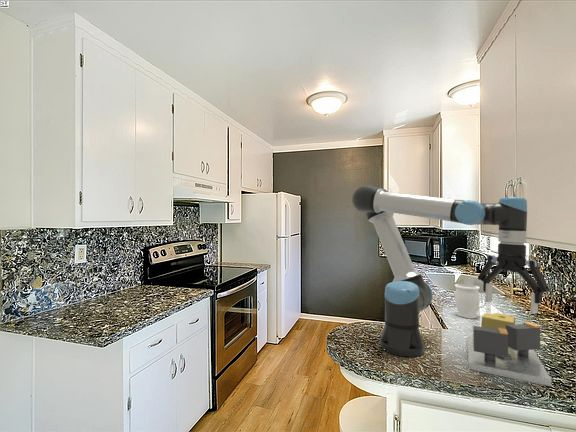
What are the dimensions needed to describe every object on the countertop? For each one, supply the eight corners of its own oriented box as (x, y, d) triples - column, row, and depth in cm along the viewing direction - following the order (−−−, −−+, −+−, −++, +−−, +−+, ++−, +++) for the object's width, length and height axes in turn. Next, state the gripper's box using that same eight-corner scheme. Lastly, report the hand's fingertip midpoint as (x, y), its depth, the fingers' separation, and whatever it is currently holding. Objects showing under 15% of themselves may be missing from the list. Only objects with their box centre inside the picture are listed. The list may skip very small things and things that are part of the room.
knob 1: (473, 358, 98) (473, 327, 98) (473, 354, 101) (473, 323, 102) (508, 365, 93) (507, 332, 94) (506, 360, 97) (506, 328, 97)
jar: (473, 313, 154) (472, 283, 154) (484, 319, 144) (484, 288, 144) (451, 312, 155) (451, 283, 155) (460, 319, 145) (460, 287, 145)
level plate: (468, 369, 95) (468, 360, 95) (466, 342, 116) (466, 335, 116) (551, 386, 85) (551, 377, 85) (532, 354, 106) (532, 346, 106)
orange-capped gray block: (516, 358, 99) (516, 327, 99) (506, 353, 103) (505, 323, 103) (540, 356, 100) (540, 325, 100) (528, 351, 104) (528, 322, 104)
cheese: (484, 334, 125) (484, 310, 125) (517, 341, 118) (516, 315, 118) (480, 342, 117) (480, 316, 117) (515, 350, 110) (515, 322, 110)
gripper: (468, 240, 110) (466, 298, 110) (552, 247, 88) (550, 320, 88) (480, 240, 114) (478, 296, 114) (564, 247, 92) (562, 317, 92)
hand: (510, 307), depth 101 cm, fingers open, 13 cm apart
